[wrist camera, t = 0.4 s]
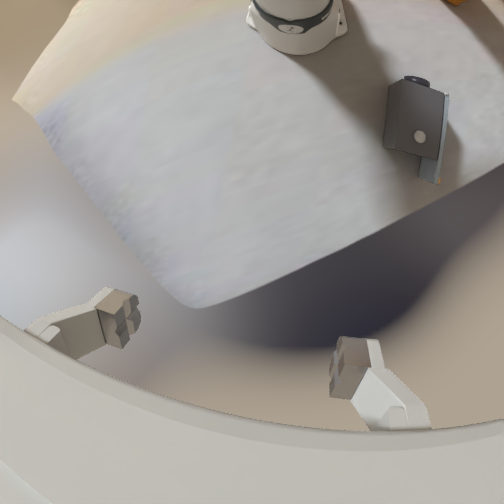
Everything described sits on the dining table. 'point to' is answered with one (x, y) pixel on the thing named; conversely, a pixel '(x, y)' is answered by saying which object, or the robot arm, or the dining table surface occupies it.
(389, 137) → the camera housing
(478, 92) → the dining table surface
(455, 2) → the coffee package
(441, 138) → the side door
